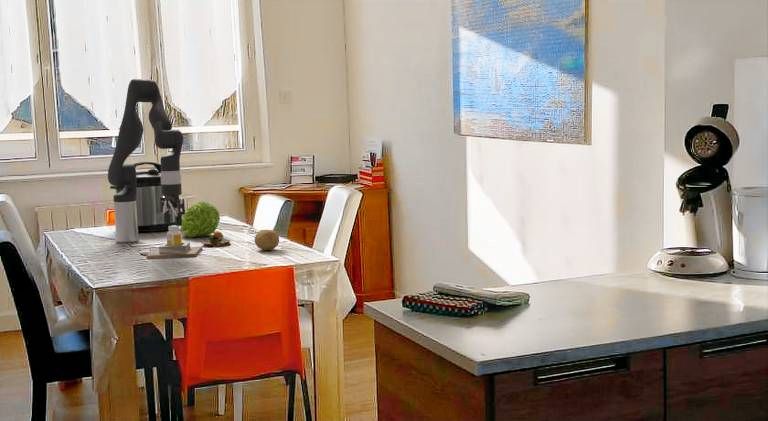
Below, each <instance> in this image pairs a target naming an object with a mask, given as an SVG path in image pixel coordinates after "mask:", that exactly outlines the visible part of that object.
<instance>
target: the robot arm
mask: <svg viewBox="0 0 768 421" xmlns="http://www.w3.org/2000/svg"><path fill="white" fill-rule="evenodd" d="M126 91H127V92H126V99H125V106H124V111H123V116H122V120H121V123H120V127H119V131H118V135H117V141H116V144H115V148H114V152H113V156H112V158H111V160H110V163H109V166H108V168H107V169H108V170H107V180H108V182H109V184H110V186H114V185H115V186H118V185H125V187H124V189H123V190H122V191H121V192H119V193H117V194H116V193H115V194H114V195H113V212H114V225H115V227H114V228H115V242H116V243H133V242H138V241H140V240H139V231H138V221H137V205H136V194H137V188H136V172H137V169H136V168H135V166H134V165H133V164H134V163H132V162H127V163H126V162H125V161H126V160H127V159H128V157H130V155H132V154H133V152H135V151H136V150H137V148H138V147H139V146H140V144H141V143H142V142H141V141H142V138H143V134H144V126H143V123H142V121H141V119H140V116H139V115H138V112H137V104H138V103H151V104H152V105H151V107H150V108H151V109H149V113H148V120H149V123H150V125H151V127H152V129H153V133H154V144H155V146H156V147H157V148H158V149H161V150H167V149H171V151H170V153H168V154H165V155H162V156H161V157H160V164H161V194H162V195H163V196H165V197H160V212H163V214H164V223H165V224H170V211H171V210H172V211H173V212H174V213H175V215H176V226H179V227H181V225H182V215H183V214H185V210H186V207H185V199H184V198H180V197H179V196H181V195H182V193H183V192H182V190H183V189H182V175H181V165H180V160H181V153H182V148H183V143H184V136H183V133H182V131H181V130H180V129H172V128H173V126H172V122H171V121H170V118H169V116H168V115H167V112H166V110H165V107H164V103H163V100H162V95H161V92H160V88H159V85H158V84H157V81H155V80H153V79H150V78H149V79H148V78H132V79H131V80H130V81H129V83H128V86H127V90H126ZM163 206H164V207H163Z"/></svg>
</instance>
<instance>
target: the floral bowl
mask: <svg viewBox="0 0 768 421" xmlns="http://www.w3.org/2000/svg"><path fill="white" fill-rule="evenodd" d="M221 229H222V228H220V231H219V230H217V231H216V230H215V232H214V233H213V234H211V236H210V237H209V238H208V240H203V241H201V244H202V245H203V246H205V248H211V246H212V247H213V248H220V247H222V246H223V247H227V246H231V240H229V239H225V238H224V234H223V233H222V232H221Z"/></svg>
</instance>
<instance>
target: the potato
mask: <svg viewBox="0 0 768 421" xmlns="http://www.w3.org/2000/svg"><path fill="white" fill-rule="evenodd" d="M279 243H280V237H279V235H278V232H277V231H276V230H273V229H262V230H259V231H257V232H256V234H255V236H254V244H255V245H256V247H258V248H259V249H261V250H263V251H271V250H274V249H275V248H277V246H278V247H279Z"/></svg>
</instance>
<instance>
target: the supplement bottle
mask: <svg viewBox="0 0 768 421" xmlns="http://www.w3.org/2000/svg"><path fill="white" fill-rule="evenodd" d="M181 242H182V231H180V226H176V225H173V226H168V231H167V232H166V243H167V246H180V245H182V243H181Z"/></svg>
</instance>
